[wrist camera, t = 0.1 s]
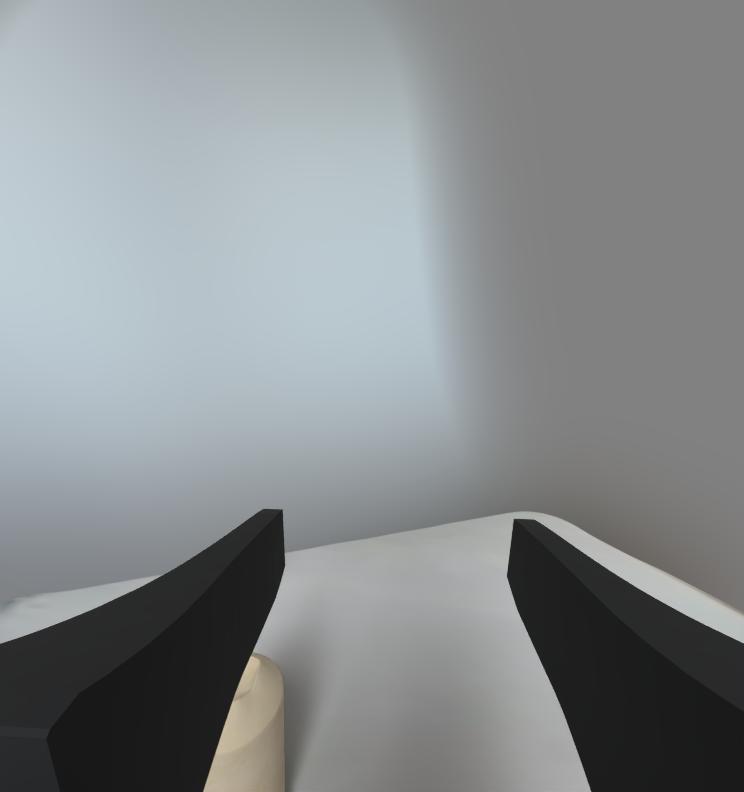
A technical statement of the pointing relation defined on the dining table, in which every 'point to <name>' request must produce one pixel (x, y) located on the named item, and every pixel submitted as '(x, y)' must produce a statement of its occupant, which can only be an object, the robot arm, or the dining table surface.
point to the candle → (252, 734)
